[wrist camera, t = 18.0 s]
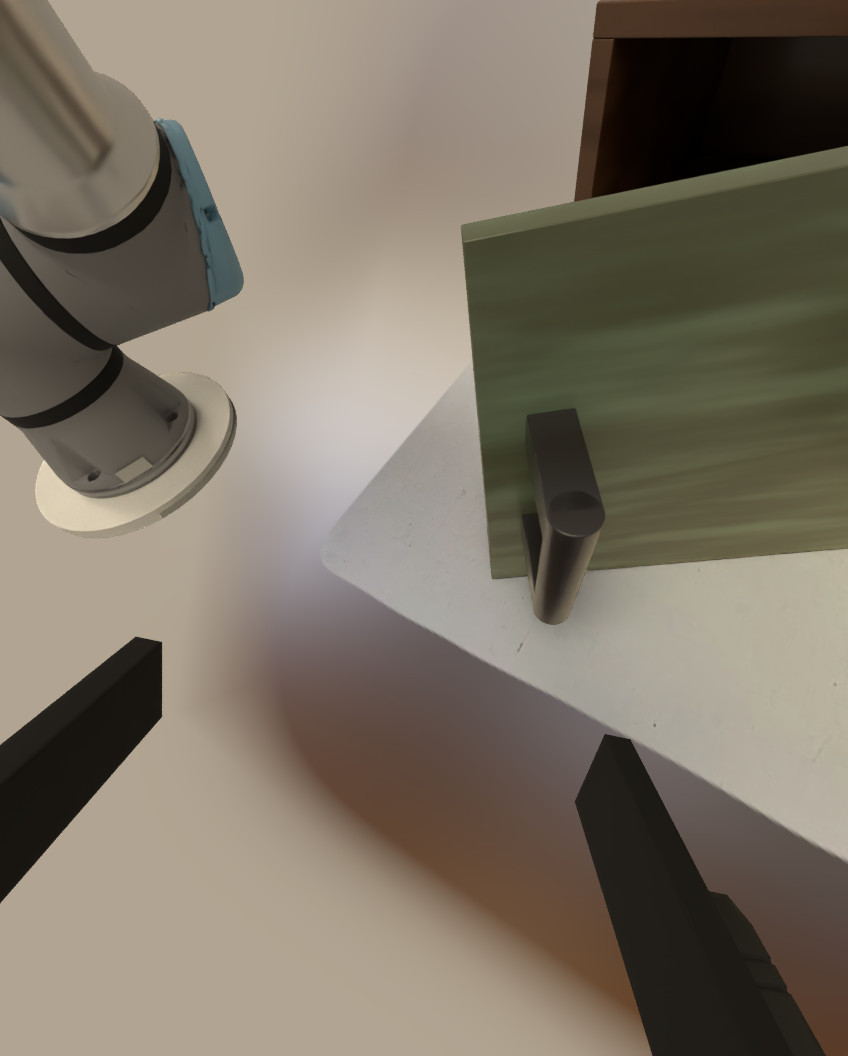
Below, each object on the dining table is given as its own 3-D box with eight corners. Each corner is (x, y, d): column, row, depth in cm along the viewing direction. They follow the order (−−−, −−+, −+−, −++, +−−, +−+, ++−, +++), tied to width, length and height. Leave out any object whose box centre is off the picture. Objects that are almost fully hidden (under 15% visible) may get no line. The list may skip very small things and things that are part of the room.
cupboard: (880, 532, 29) (1786, -57, 8) (552, 391, 41) (596, 2, 20) (961, 377, 34) (1662, -236, 13) (647, 291, 46) (761, -104, 25)
